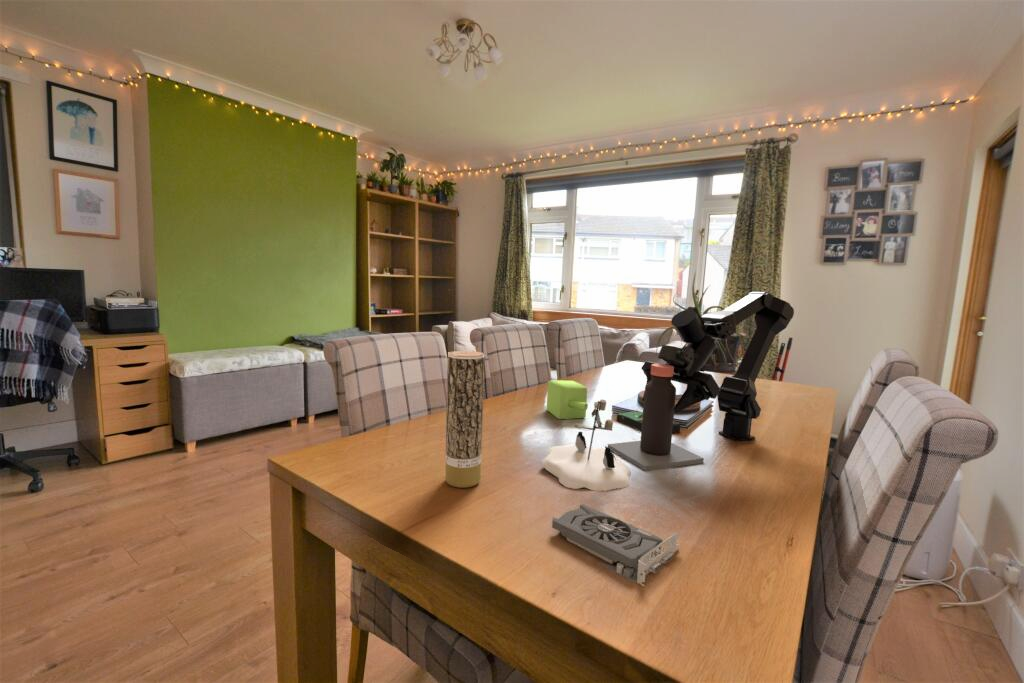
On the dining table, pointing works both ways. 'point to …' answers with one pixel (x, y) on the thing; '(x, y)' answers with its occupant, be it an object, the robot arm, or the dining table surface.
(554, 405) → the gearbox
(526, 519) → the dining table surface
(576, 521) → the graphics card
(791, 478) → the dining table surface
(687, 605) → the dining table surface
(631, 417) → the disk drive
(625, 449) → the mat
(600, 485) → the figurine
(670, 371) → the brown bottle
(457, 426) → the paper tube
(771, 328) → the robot arm
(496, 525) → the dining table surface
